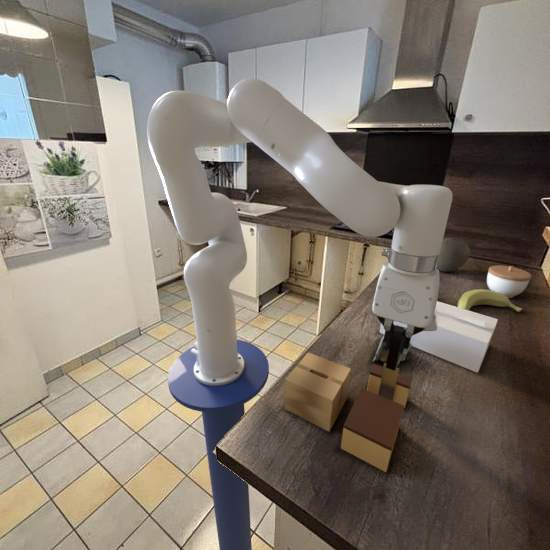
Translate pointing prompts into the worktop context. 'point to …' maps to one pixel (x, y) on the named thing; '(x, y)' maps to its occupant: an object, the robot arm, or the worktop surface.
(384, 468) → the loaf cake
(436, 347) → the tissue box
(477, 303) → the banana
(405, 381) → the cake slice
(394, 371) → the knife
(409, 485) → the worktop surface
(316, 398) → the knife block
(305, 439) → the worktop surface
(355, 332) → the worktop surface
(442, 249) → the cantaloupe
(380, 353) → the chocolate cake
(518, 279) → the lidded bowl
